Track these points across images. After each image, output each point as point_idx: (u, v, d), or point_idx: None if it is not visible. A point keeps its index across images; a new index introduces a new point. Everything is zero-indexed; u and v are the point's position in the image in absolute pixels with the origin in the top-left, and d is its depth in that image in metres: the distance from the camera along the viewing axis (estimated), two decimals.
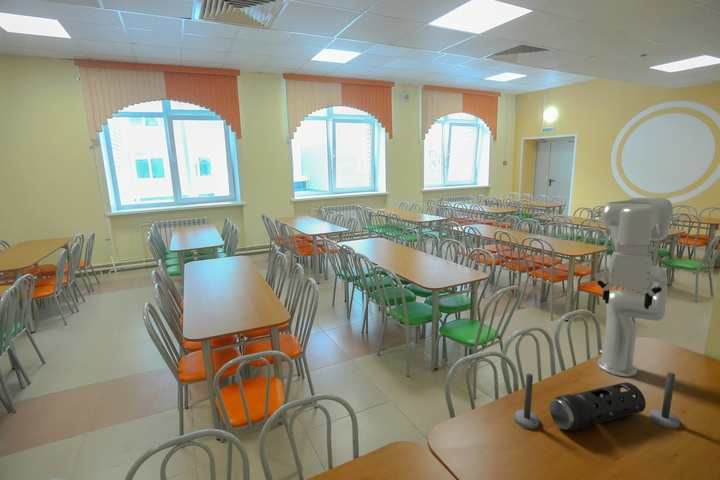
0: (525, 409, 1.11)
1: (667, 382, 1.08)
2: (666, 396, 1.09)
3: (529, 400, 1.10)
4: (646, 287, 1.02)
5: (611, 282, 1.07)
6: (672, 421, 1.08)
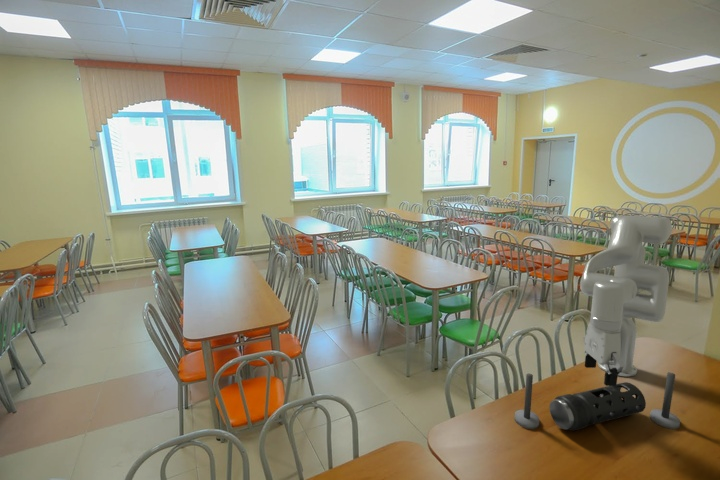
0: (525, 409, 1.11)
1: (667, 382, 1.08)
2: (666, 396, 1.09)
3: (529, 400, 1.10)
4: None
5: None
6: (672, 421, 1.08)
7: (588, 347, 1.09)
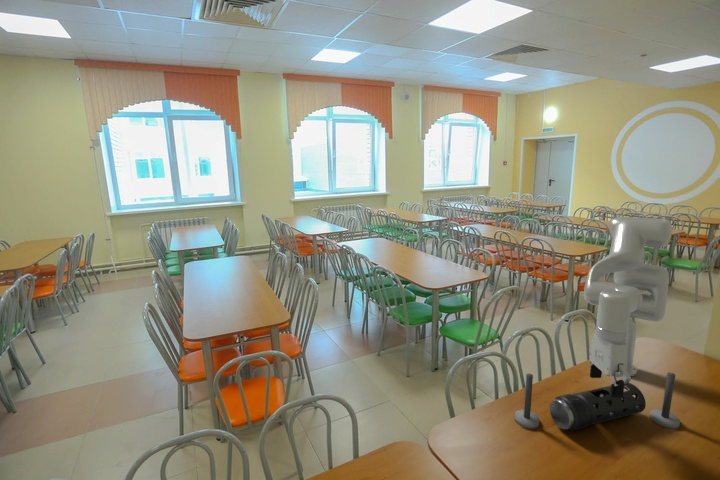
0: (525, 409, 1.11)
1: (667, 382, 1.08)
2: (666, 396, 1.09)
3: (529, 400, 1.10)
4: None
5: None
6: (672, 421, 1.08)
7: (593, 357, 1.07)
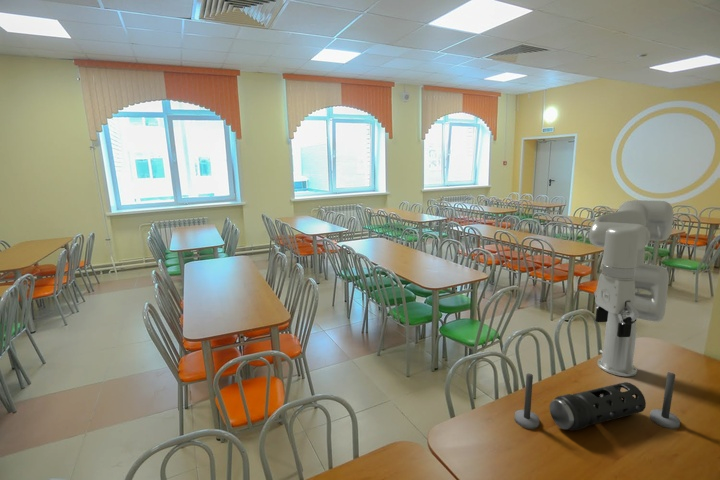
0: (525, 409, 1.11)
1: (667, 382, 1.08)
2: (666, 396, 1.09)
3: (529, 400, 1.10)
4: None
5: None
6: (672, 421, 1.08)
7: (599, 299, 1.03)
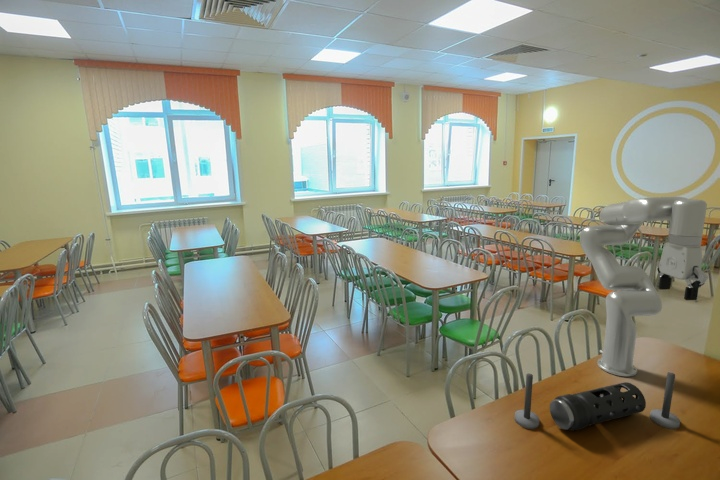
0: (525, 409, 1.11)
1: (667, 382, 1.08)
2: (666, 396, 1.09)
3: (529, 400, 1.10)
4: None
5: None
6: (672, 421, 1.08)
7: (665, 267, 1.12)
